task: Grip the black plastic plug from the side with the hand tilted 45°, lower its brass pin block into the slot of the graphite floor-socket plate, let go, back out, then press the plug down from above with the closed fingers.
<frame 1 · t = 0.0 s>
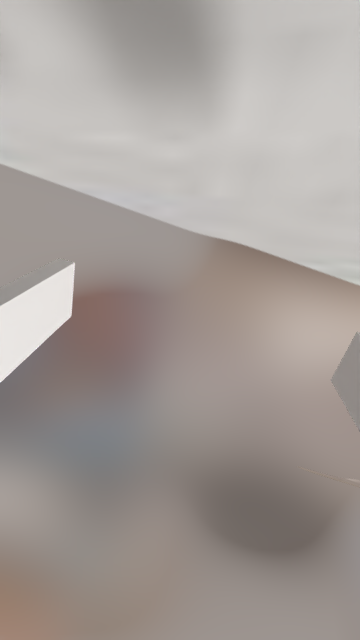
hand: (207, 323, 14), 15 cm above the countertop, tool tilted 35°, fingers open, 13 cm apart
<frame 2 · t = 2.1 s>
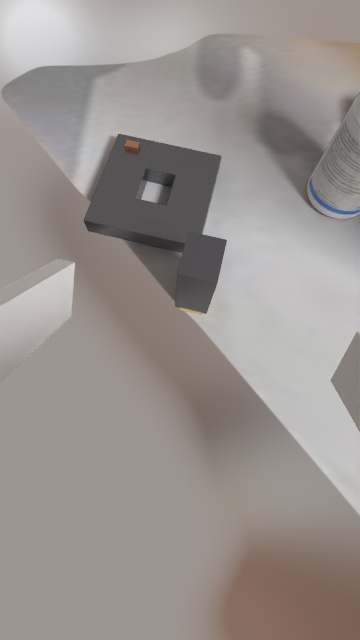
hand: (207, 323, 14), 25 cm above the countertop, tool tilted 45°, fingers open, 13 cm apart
socket plate: (156, 198, 46), on the countertop
plug: (193, 298, 41), on the countertop
supplement tub: (334, 196, 47), on the countertop
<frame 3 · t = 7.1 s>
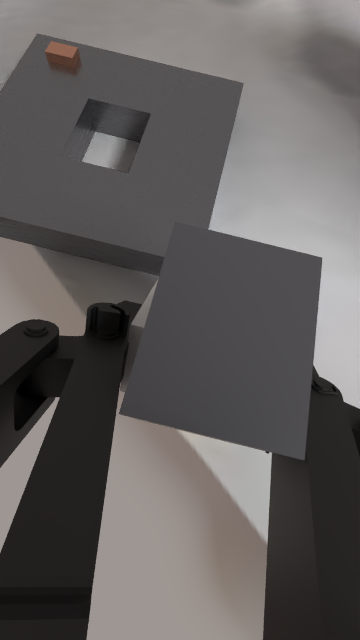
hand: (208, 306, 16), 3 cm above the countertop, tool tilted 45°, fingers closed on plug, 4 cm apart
socket plate: (112, 164, 23), on the countertop
plug: (186, 384, 18), on the countertop, touching gripper
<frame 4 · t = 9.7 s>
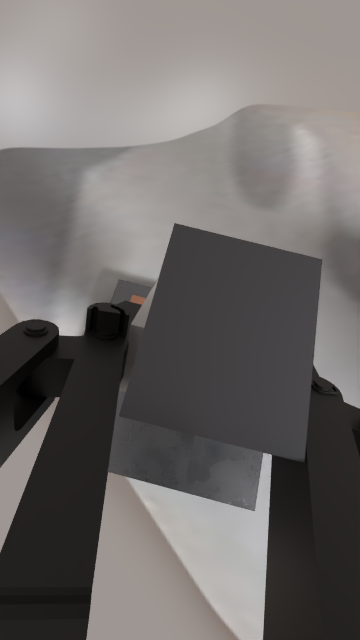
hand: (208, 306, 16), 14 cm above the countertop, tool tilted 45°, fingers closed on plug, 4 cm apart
socket plate: (177, 386, 29), on the countertop
plug: (186, 385, 18), point 11 cm above the countertop, touching gripper
when the fingers open (4 cm above the countertop, at t = 12.4 s): plug drops 1 cm, resting in socket plate.
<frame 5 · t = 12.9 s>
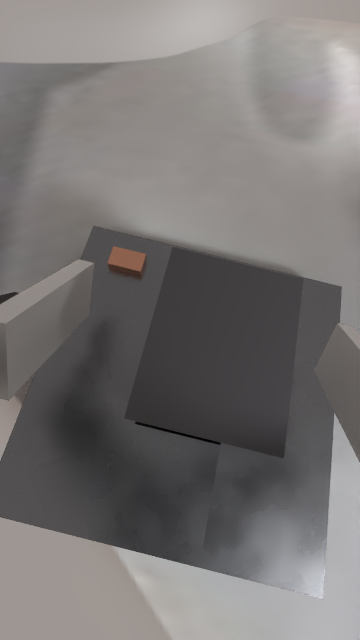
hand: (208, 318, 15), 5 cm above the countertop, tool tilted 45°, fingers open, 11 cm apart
socket plate: (185, 387, 19), on the countertop
plug: (185, 388, 19), resting in socket plate
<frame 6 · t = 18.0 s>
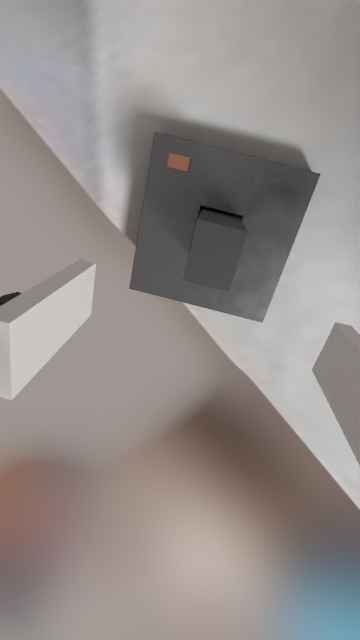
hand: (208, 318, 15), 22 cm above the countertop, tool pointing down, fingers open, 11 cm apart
socket plate: (214, 233, 34), on the countertop
plug: (214, 234, 34), resting in socket plate
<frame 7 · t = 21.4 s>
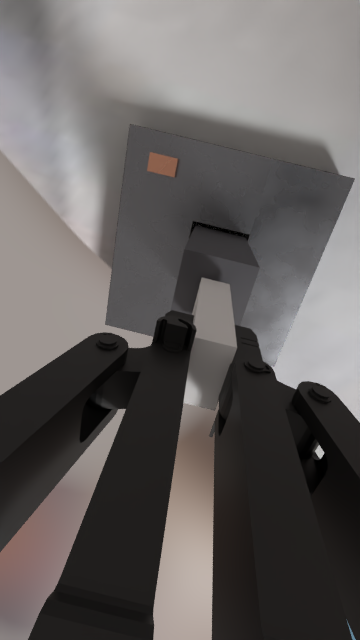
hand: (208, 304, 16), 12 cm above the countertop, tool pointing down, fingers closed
socket plate: (212, 255, 27), on the countertop
plug: (212, 255, 27), resting in socket plate
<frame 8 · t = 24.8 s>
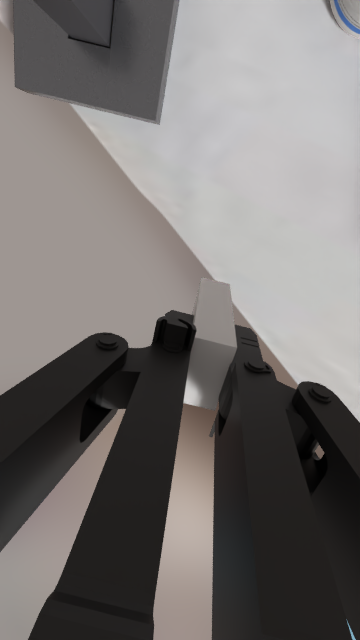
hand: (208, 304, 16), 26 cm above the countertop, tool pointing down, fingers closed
socket plate: (100, 20, 32), on the countertop
plug: (100, 21, 32), resting in socket plate
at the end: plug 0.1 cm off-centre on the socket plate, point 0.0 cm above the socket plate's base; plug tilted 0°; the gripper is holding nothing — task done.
